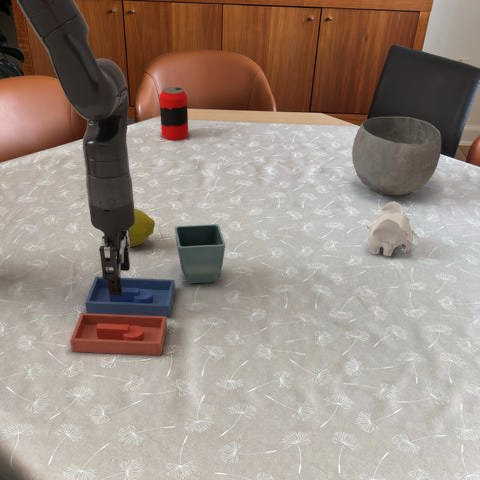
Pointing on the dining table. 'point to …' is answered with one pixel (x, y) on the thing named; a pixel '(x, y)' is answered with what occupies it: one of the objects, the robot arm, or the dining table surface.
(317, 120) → the dining table surface
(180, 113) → the soda can
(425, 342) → the dining table surface
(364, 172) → the bowl
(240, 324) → the dining table surface
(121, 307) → the blue tray
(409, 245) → the elephant figurine
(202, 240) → the flower pot
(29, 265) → the dining table surface
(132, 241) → the lemon
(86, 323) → the red tray
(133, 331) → the red spoon
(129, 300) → the blue spoon
